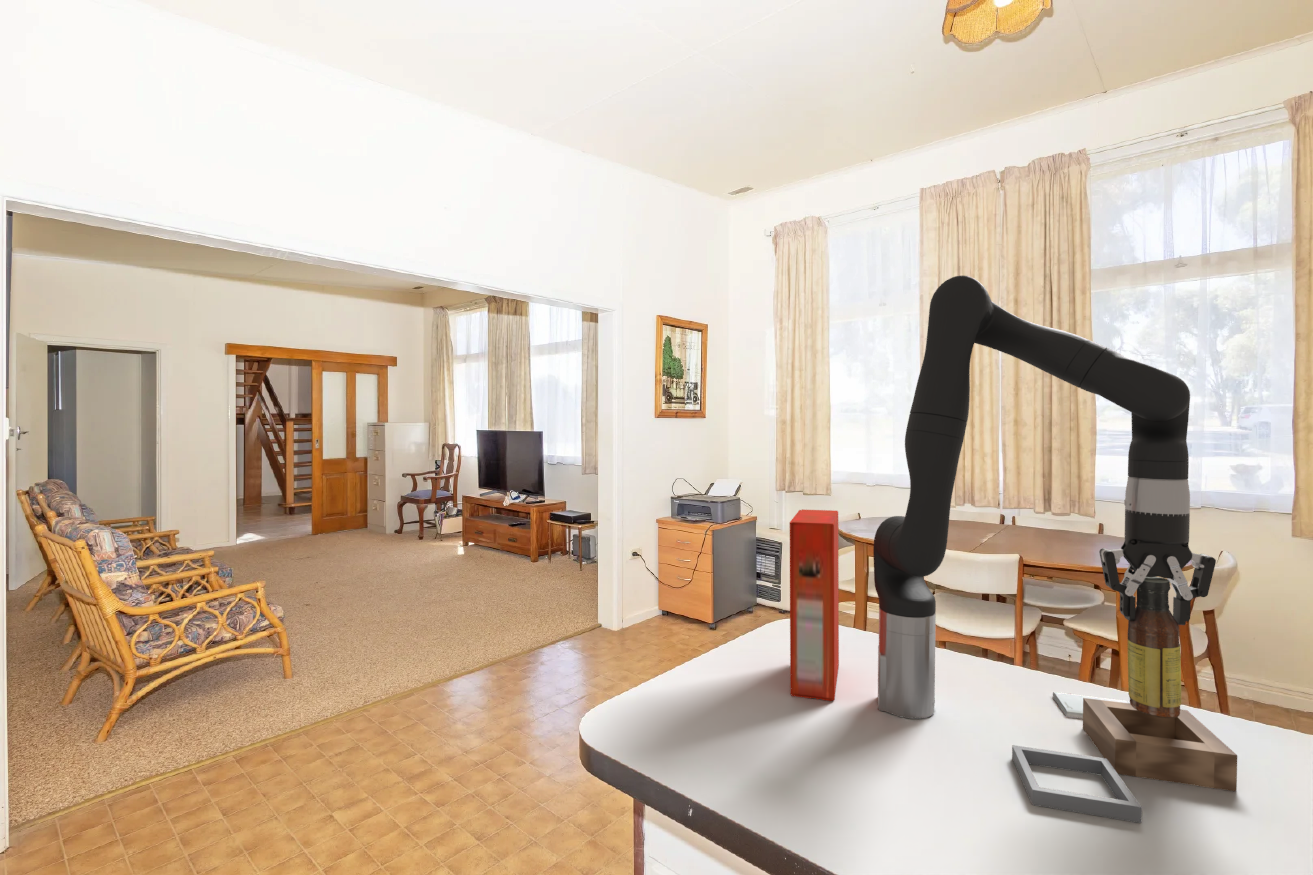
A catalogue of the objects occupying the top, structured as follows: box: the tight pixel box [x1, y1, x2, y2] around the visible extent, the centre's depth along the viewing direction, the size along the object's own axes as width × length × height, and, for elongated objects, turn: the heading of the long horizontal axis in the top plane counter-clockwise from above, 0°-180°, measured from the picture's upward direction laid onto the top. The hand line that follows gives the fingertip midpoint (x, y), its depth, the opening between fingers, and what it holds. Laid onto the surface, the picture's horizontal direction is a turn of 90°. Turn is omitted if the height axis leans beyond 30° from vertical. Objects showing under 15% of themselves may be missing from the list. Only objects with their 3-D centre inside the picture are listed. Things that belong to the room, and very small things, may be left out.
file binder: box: [789, 509, 840, 702], centre depth 122 cm, size 8×17×32 cm, turn 161°
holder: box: [1082, 698, 1238, 793], centre depth 94 cm, size 14×14×5 cm
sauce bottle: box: [1127, 576, 1182, 718], centre depth 94 cm, size 7×6×20 cm
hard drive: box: [1052, 691, 1130, 720], centre depth 109 cm, size 2×8×12 cm
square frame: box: [1011, 744, 1143, 824], centre depth 86 cm, size 12×12×2 cm
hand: (1154, 620), depth 94 cm, fingers closed on sauce bottle, 5 cm apart
